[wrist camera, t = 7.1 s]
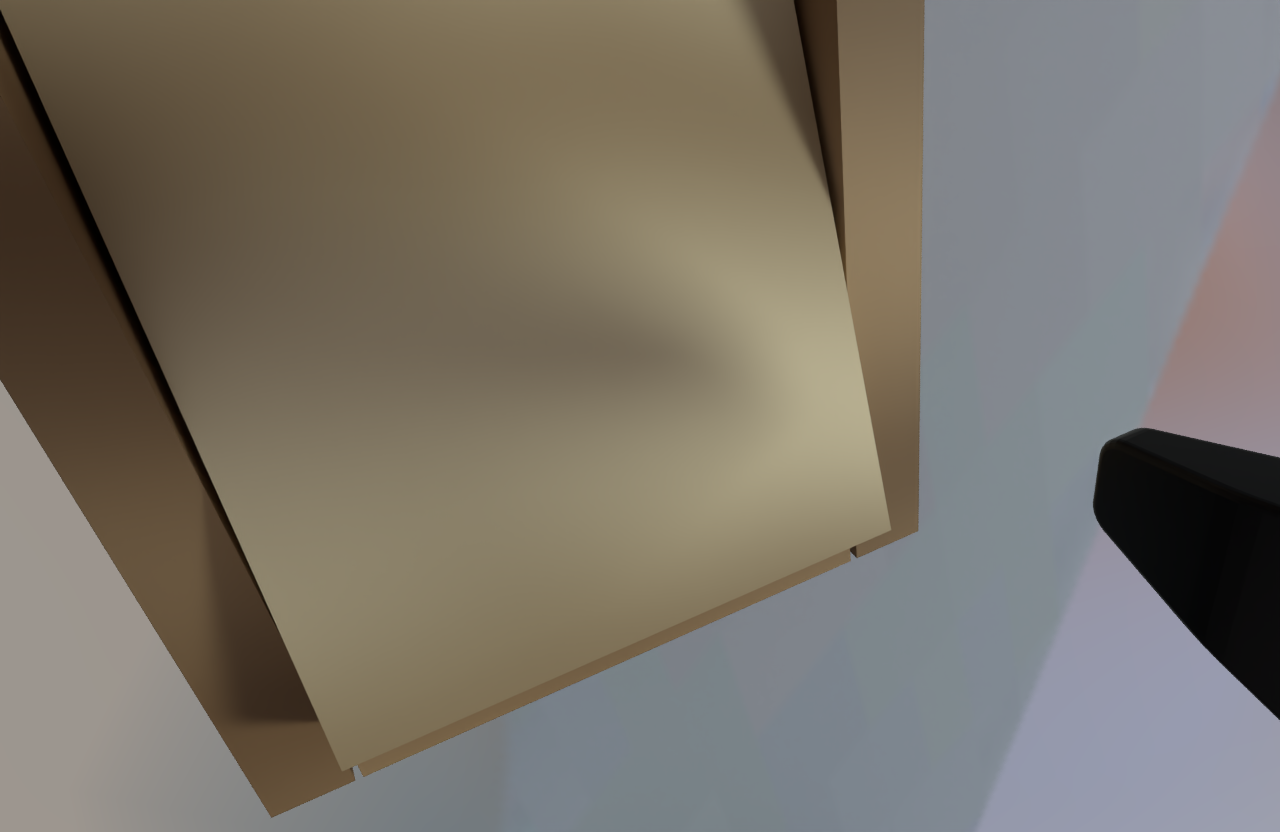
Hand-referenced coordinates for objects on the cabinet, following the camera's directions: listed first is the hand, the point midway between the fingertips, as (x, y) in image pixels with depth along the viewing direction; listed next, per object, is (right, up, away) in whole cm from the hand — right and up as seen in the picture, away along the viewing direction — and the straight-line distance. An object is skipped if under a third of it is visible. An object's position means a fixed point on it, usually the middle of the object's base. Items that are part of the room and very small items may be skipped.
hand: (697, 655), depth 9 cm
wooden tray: (-4, +11, -2) cm, 12 cm away
